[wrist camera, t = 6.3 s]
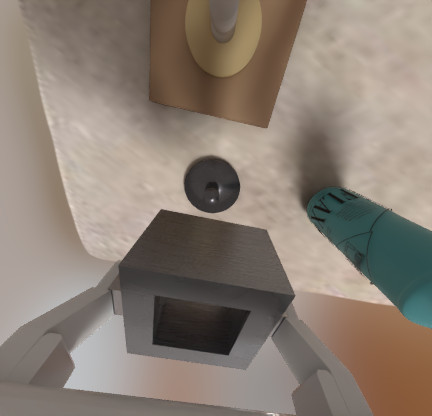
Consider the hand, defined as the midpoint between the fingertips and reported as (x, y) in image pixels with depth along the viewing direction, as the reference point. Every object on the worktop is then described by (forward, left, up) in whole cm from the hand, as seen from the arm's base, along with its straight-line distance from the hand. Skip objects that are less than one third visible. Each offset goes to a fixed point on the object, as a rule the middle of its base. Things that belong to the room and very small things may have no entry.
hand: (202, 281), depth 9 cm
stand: (0, 0, -17) cm, 17 cm away
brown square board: (+2, -16, -17) cm, 23 cm away
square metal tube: (0, 0, -2) cm, 2 cm away
